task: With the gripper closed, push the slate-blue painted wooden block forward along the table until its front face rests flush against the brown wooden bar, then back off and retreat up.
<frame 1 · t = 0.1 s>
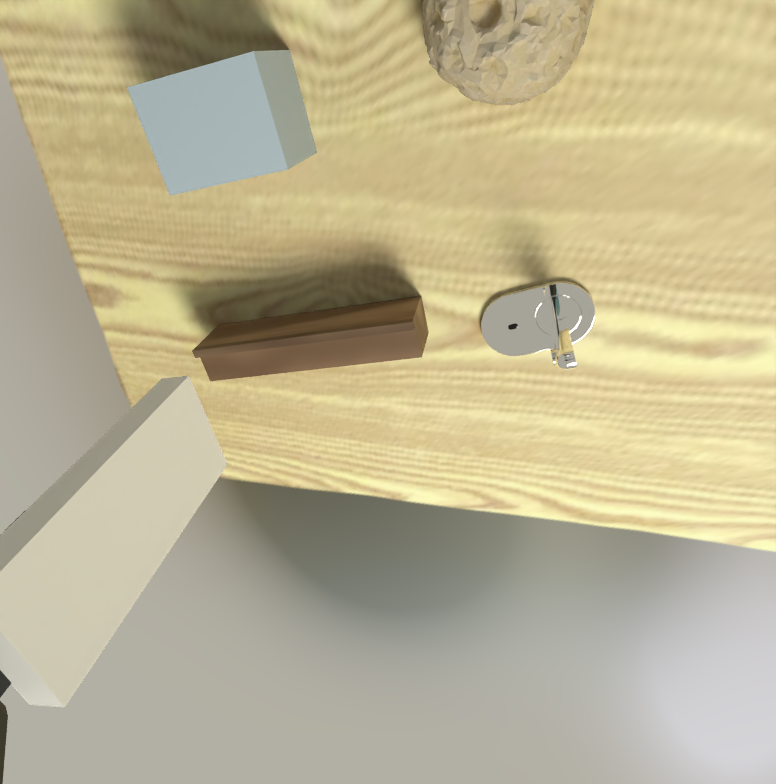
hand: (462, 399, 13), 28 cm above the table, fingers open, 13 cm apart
brown wooden bar: (319, 328, 44), on the table
metal post stand: (536, 317, 41), on the table
block: (249, 117, 37), on the table
sponge: (506, 10, 32), on the table
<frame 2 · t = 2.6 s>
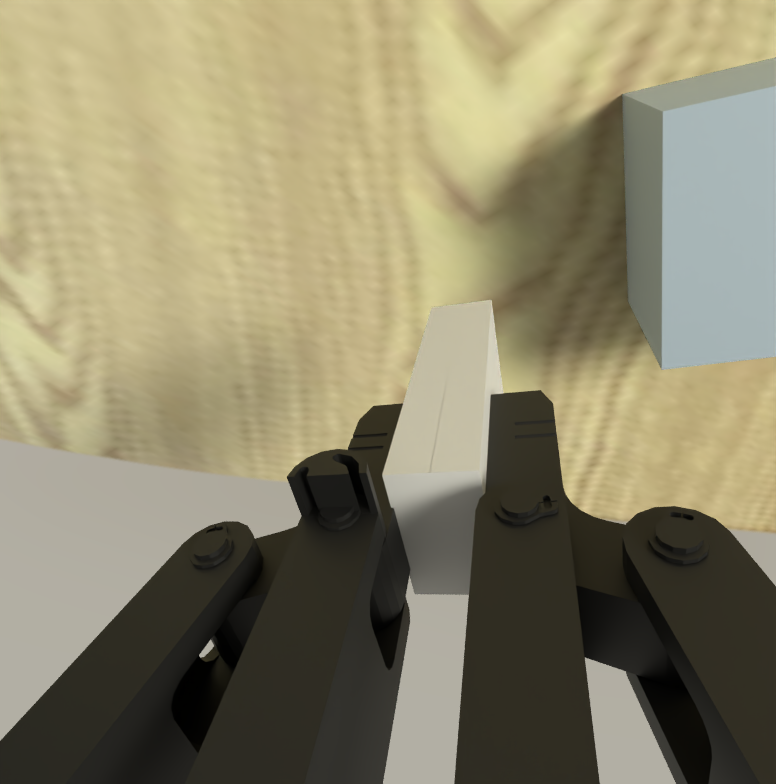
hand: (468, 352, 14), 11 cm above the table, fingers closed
block: (709, 190, 21), on the table
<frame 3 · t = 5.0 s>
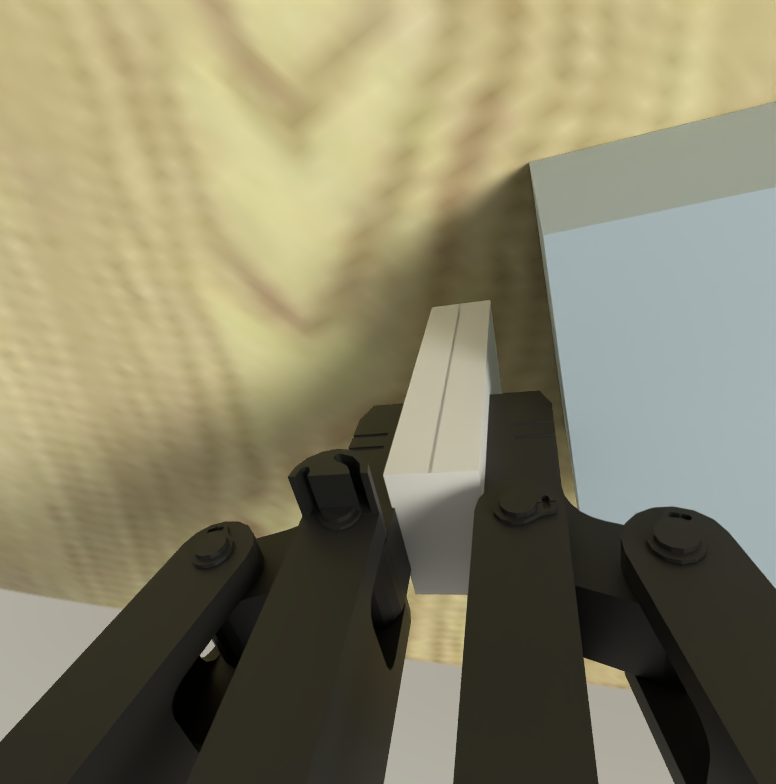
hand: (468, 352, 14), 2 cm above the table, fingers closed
block: (670, 294, 14), on the table, touching gripper
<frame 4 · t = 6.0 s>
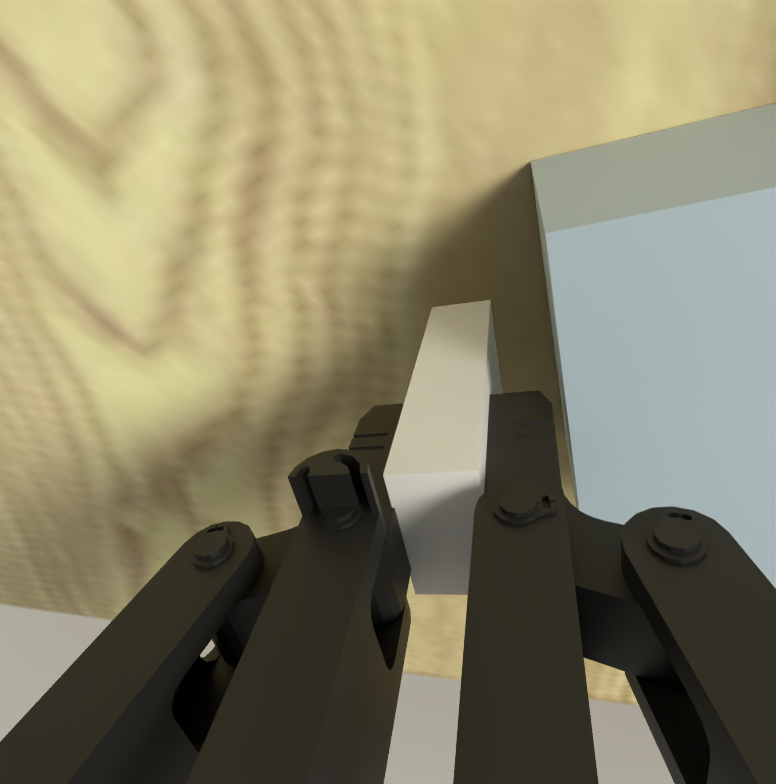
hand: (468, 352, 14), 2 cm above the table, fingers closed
block: (670, 294, 14), on the table, touching gripper
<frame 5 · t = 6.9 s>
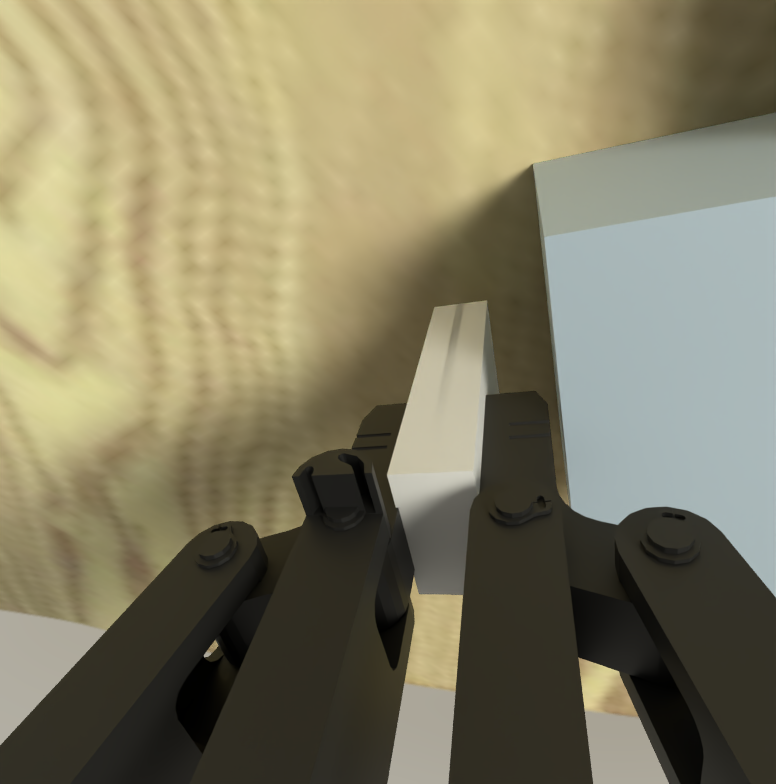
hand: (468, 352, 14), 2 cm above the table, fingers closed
block: (670, 301, 14), on the table, touching brown wooden bar, gripper
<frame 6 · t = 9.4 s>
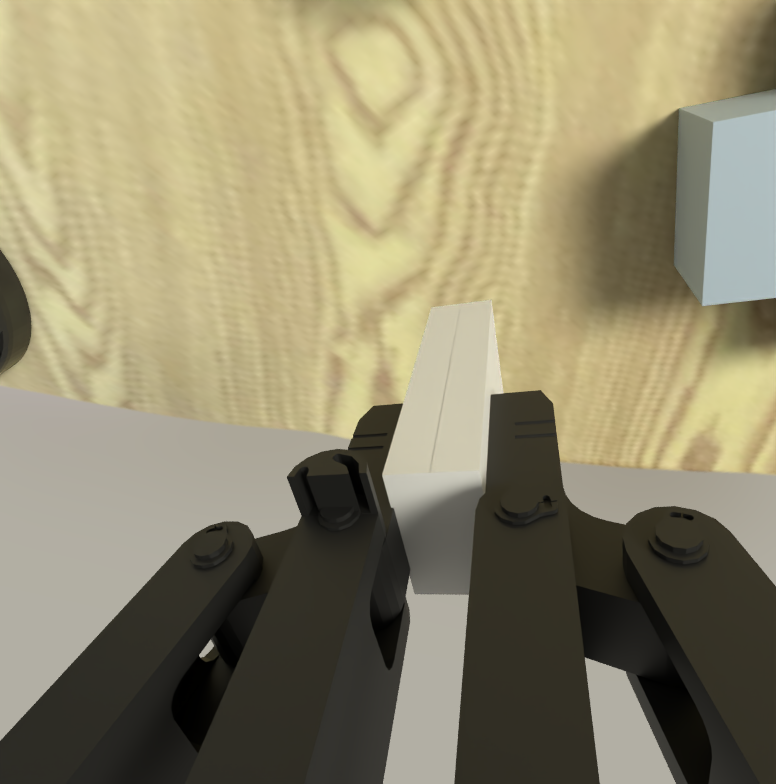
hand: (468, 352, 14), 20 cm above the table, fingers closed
block: (740, 180, 29), on the table
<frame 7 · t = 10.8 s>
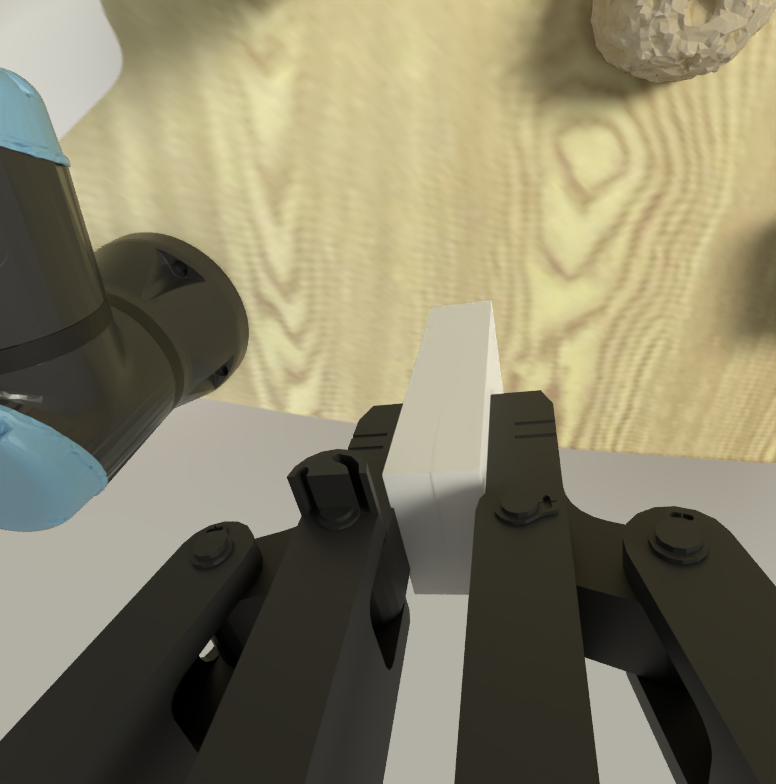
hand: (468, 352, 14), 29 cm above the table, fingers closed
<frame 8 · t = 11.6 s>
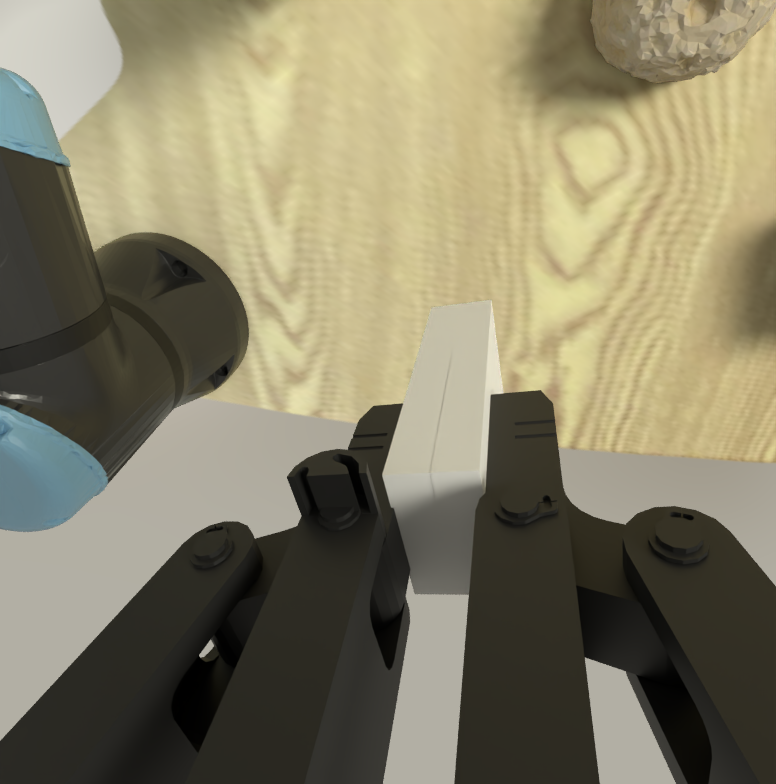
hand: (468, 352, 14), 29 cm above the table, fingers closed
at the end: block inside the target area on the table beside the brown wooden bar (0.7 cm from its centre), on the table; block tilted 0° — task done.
